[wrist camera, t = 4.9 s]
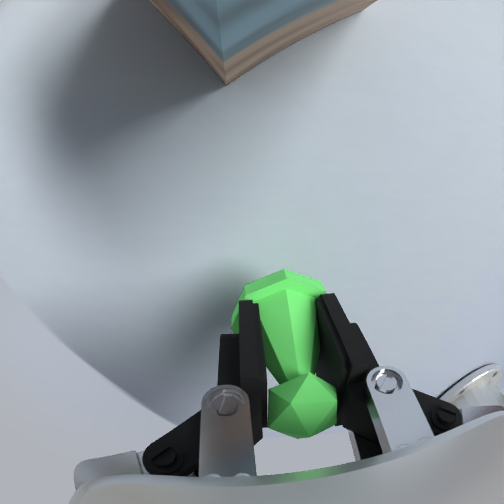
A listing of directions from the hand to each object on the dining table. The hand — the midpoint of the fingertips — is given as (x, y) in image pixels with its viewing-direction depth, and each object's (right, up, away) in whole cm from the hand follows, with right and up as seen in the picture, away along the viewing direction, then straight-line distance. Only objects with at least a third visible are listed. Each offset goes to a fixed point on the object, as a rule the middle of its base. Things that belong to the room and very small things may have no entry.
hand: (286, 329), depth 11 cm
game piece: (0, 0, +1) cm, 1 cm away
